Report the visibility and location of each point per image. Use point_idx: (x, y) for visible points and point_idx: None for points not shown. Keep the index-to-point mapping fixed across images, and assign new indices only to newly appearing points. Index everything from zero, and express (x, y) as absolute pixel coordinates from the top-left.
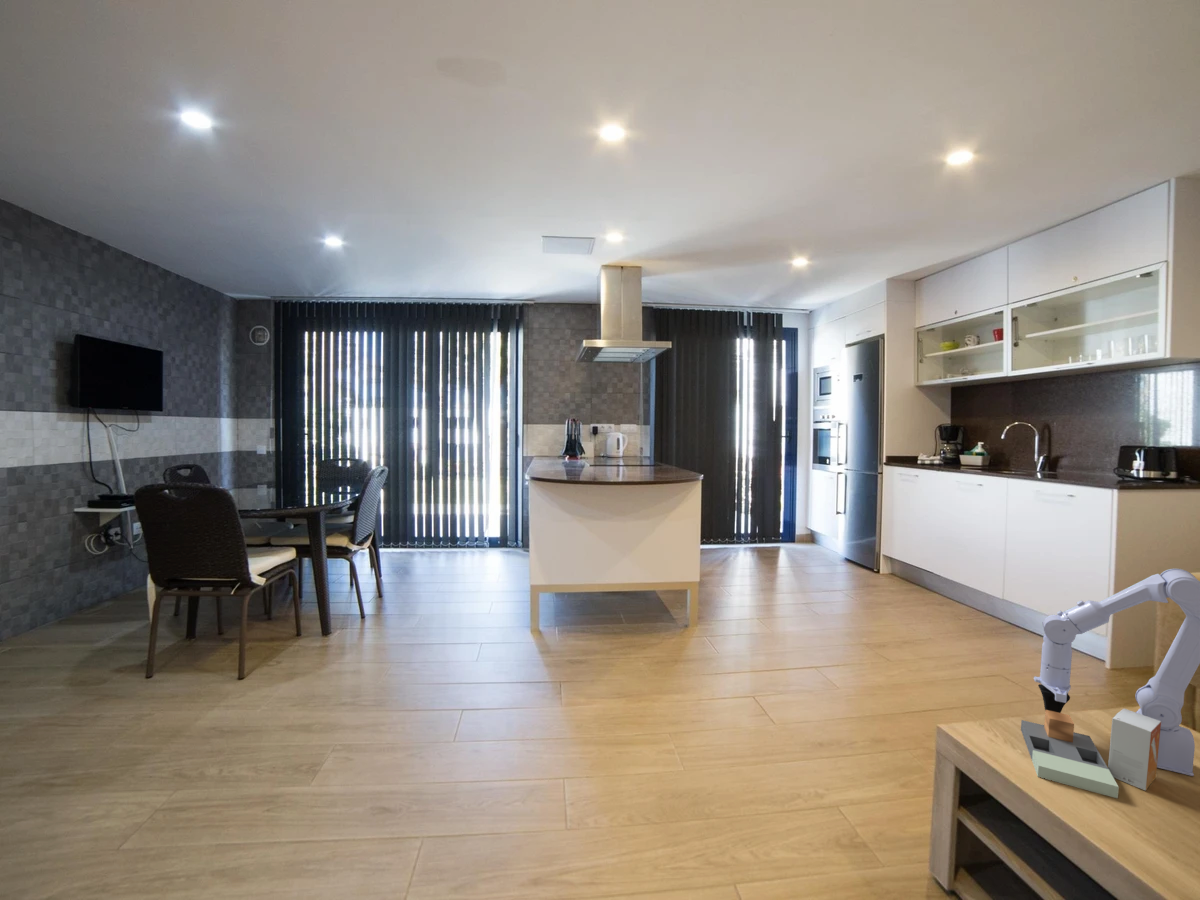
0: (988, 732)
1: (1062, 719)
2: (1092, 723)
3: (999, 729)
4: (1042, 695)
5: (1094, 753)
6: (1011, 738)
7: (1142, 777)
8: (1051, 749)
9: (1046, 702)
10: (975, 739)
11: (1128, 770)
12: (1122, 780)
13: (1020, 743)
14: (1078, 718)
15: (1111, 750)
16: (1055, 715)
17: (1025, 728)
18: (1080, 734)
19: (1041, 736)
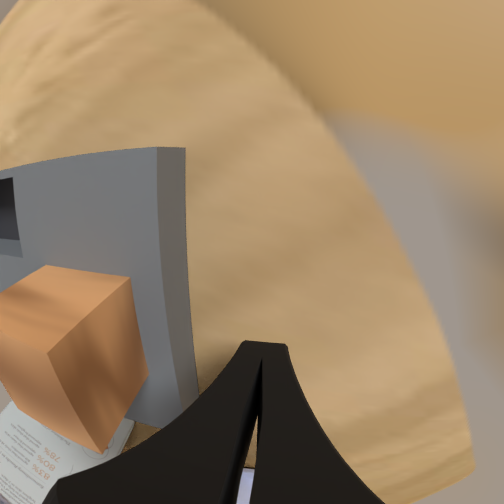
0: (85, 21)
1: (10, 383)
2: (405, 438)
3: (131, 48)
4: (316, 464)
5: None
6: (71, 103)
7: None
8: (5, 248)
9: (165, 433)
10: (33, 13)
11: None
12: None
13: (50, 139)
14: (433, 414)
15: (5, 410)
16: (20, 373)
17: (58, 163)
18: (176, 413)
19: (30, 232)
